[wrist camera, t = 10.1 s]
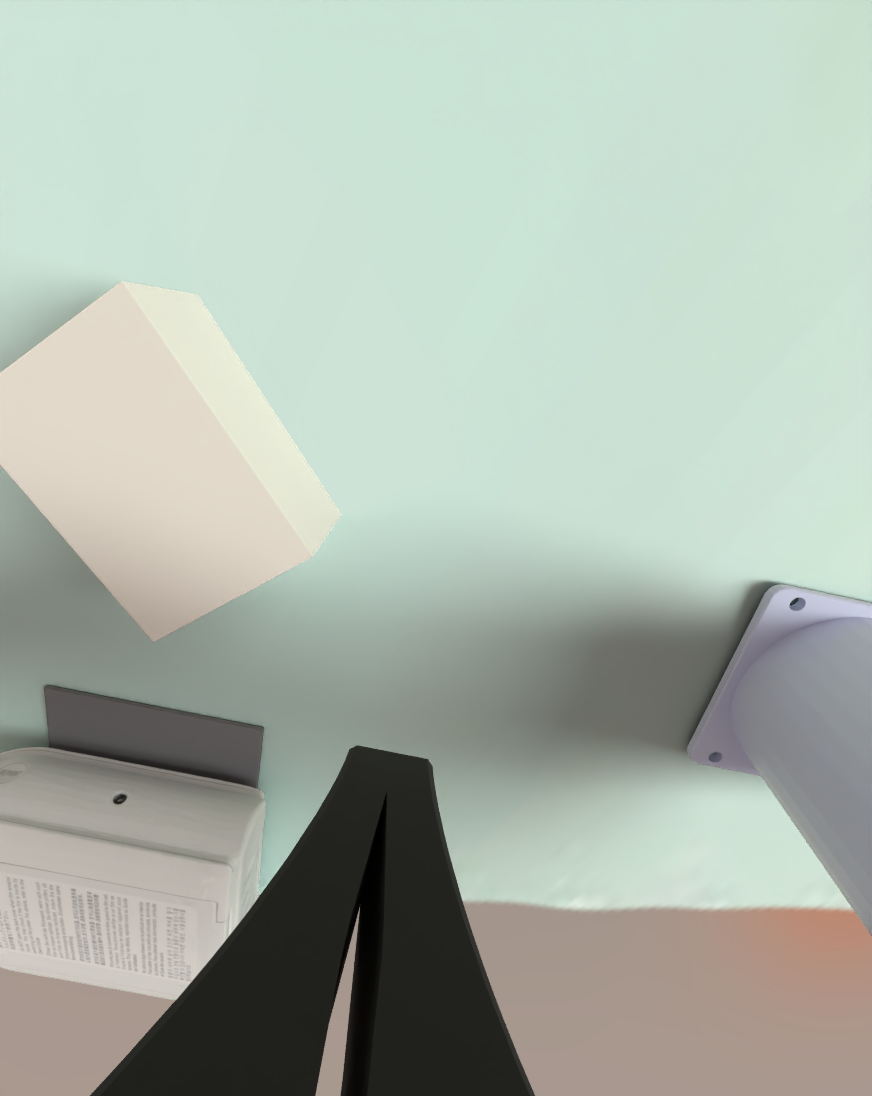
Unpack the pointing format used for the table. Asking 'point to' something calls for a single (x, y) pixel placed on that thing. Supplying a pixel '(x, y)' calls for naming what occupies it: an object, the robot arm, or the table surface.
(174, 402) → the card box
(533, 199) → the table surface
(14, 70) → the table surface
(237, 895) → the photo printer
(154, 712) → the mat
